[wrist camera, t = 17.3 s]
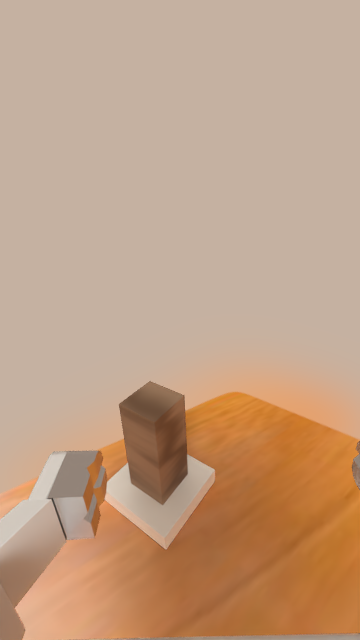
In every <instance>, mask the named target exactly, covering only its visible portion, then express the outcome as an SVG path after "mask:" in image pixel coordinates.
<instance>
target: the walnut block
mask: <svg viewBox="0 0 360 640" xmlns="http://www.w3.org/2000/svg"><path fill="white" fill-rule="evenodd" d="M119 408H120V414H121V421H122V426H123V434H124V440H125V447H126V453H127V460H128V466H129V473H130V479H131V484H133V485H134V486H136V487H137V488H138V489H140V490H141V491H143V492H144V493H146V494H147V495H149V496H150V497H151V498H153V499H154V500H156V501H157V502H159V503H160V504H161V505H163V504H164V503H165V502H166V501H167V499H168V498H169V497H170V496H171V494H172V493H173V492H174V491H175V489H176V488H177V487H178V486H179V484H180V483H181V482H182V481H183V479H184V478H185V477H186V476H187V474H188V465H187V443H186V422H185V401H184V395H182V394H179V393H177V392H175V391H172V390H170V389H168V388H165V387H163V386H160V385H158V384H155V383H153V382H151V381H150V382H148V383H147V384H146V385H144V386H143V387H142V388H140V389H139V390H137V391H136V392H135V393H133V394H132V395H131V396H129V397H128V398H127V399H125V400H124V401H123V402H121V403H120V404H119Z"/></svg>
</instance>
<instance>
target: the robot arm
mask: <svg viewBox="0 0 360 640" xmlns="http://www.w3.org/2000/svg"><path fill="white" fill-rule="evenodd" d="M356 450H357V451H358V453H359V455H358V456H357V457H355V458H354V459H353V464H352V471H353V477H354V479H355V482H356V484H357V486H358V488H359V490H360V441H359V442H358V443H357V447H356ZM102 461H103V456H102V453H101V451H64V452H63V451H62V452H53V453H52V454H51V455H50V456H49V458H48V460H47V462H46V464H45V466H44V468H43V470H42V472H41V474H40V476H39V478H38V480H37V482H36V484H35V486H34V488H33V490H32V492H31V495H30V497H29V499H28V500H23V501H21V502H20V503H19V504H18V505H17V506H16V507H14V508H13V509H12V510H11V511H10V512H9V513H7V514H6V515H5V516H4V517H3V518H2V519H0V640H22V639H23V636H24V633H25V627H24V624H23V622H22V621H21V619H20V617H19V615H18V614H17V612H16V610H15V607H16V606H17V604H18V603H19V602H20V600H21V599H22V598H23V597H24V595H25V594H26V593H27V592H28V590H29V589H30V588H31V586H32V585H33V584H34V583H35V581H36V580H37V579H38V577H39V576H40V575H41V574H42V572H43V571H44V570H45V569H46V567H47V566H48V565H49V563H50V562H51V561H52V560H53V558H54V557H55V556H56V555H57V553H58V552H59V551H60V549H61V548H62V547H63V546H64V544H65V543H66V540H73V539H89V538H95V536H96V532H97V528H98V524H99V520H100V516H101V515H100V511H99V506H100V505H101V504H102V503H103V501H104V499H105V495H106V488H107V474H106V469H105V468H104V467H103V466H102ZM69 640H360V633H340V634H294V635H248V636H202V637H158V638H113V639H69Z"/></svg>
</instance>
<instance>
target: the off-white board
mask: <svg viewBox="0 0 360 640" xmlns="http://www.w3.org/2000/svg"><path fill="white" fill-rule="evenodd" d="M187 465H188V474H187V476H186V477H185V478H184V479H183V481H182V482H181V483H180V484H179V486H178V487H177V488H176V489H175V491H174V492H173V493H172V494H171V496H170V497H169V498H168V499H167V501H166V502H165V503H164V504H163V505H161V504H160V503H159V502H157V501H156V500H154V499H153V498H151V497H150V496H149V495H147V494H146V493H144V492H143V491H141V490H140V489H138V488H137V487H136V486H134V485H133V484H131V479H130V473H129V466H128V463H127V464H126V465H125V466H124V467H123V468H121V469H120V470H119V471H118V472H117V473H116V474H115V475H114V476H113V477H112V478H111V479H110V480H109V481H108V482H107V488H106V495H105V499H104V500H106V501H107V502H108V503H109V504H110V505H112V506H113V507H114V508H115V509H117V510H118V511H119V512H120V513H121V514H123V515H124V516H125V517H126V518H128V519H129V520H130V521H131V522H132V523H134V524H135V525H136V526H137V527H139V528H140V529H141V530H142V531H143V532H145V533H146V534H147V535H148V536H150V537H151V538H152V539H153V540H154V541H156V542H157V543H158V544H159V545H160V546H162V547H163V548H164V549H165V550H166V549H167V548H168V547H169V545H170V544H171V542H172V541H173V540H174V538H175V537H176V535H177V534H178V533H179V531H180V530H181V528H182V527H183V525H184V524H185V523H186V521H187V520H188V518H189V517H190V516H191V514H192V513H193V511H194V510H195V509H196V507H197V506H198V504H199V503H200V502H201V500H202V499H203V497H204V496H205V494H206V493H207V492H208V490H209V489H210V487H211V486H212V485H213V483H214V482H215V470H214V469H213V468H211V467H209V466H207V465H206V464H204V463H202V462H200V461H198V460H197V459H195V458H193V457H191V456H189V455H188V454H187Z"/></svg>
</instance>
